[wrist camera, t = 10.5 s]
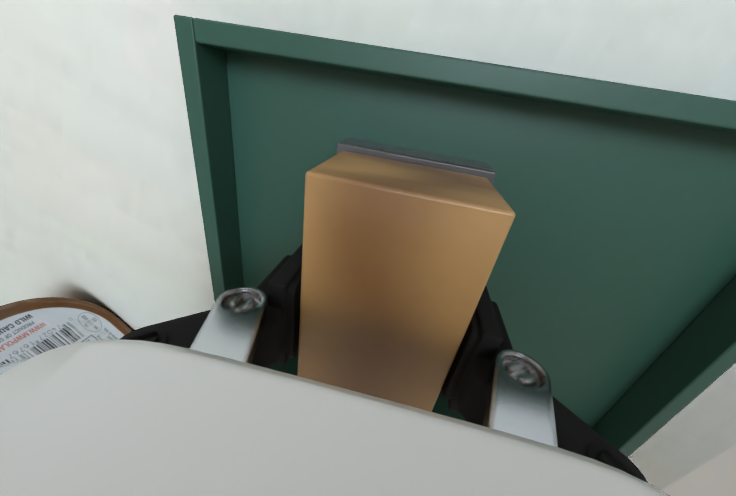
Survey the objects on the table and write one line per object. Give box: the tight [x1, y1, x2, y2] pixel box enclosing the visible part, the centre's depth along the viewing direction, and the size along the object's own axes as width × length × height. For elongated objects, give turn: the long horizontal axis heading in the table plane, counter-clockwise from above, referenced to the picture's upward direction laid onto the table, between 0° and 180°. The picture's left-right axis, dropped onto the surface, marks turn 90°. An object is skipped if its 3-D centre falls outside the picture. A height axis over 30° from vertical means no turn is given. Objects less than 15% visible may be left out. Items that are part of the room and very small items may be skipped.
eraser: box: [297, 138, 515, 412], centre depth 10 cm, size 5×10×5 cm, turn 172°
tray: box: [174, 15, 736, 457], centre depth 12 cm, size 20×15×2 cm
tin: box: [0, 297, 132, 366], centre depth 16 cm, size 15×3×8 cm, turn 32°
